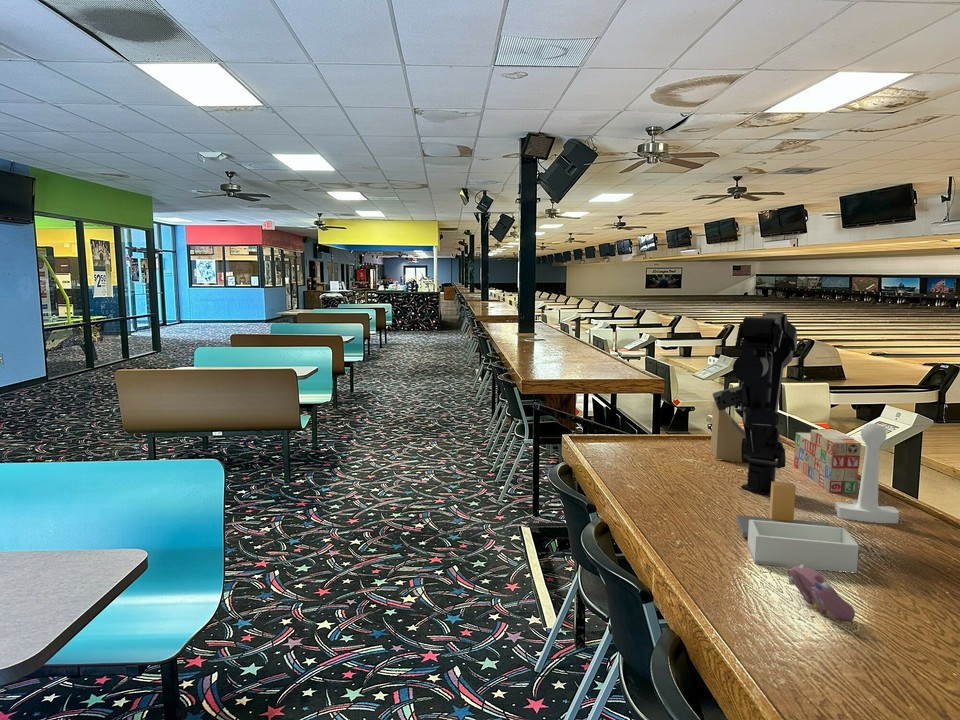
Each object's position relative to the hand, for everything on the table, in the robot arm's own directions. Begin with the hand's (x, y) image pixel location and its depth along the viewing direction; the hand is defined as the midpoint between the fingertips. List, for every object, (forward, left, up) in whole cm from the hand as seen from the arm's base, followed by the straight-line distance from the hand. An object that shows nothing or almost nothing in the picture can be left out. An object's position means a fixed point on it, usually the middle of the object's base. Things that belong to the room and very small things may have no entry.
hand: (752, 448), depth 140 cm
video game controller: (+31, +30, -13) cm, 45 cm away
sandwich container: (-34, -23, -13) cm, 44 cm away
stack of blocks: (-33, -1, -13) cm, 36 cm away
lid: (+8, +13, -13) cm, 20 cm away
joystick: (-15, +17, -13) cm, 26 cm away
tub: (+17, +20, -13) cm, 29 cm away
